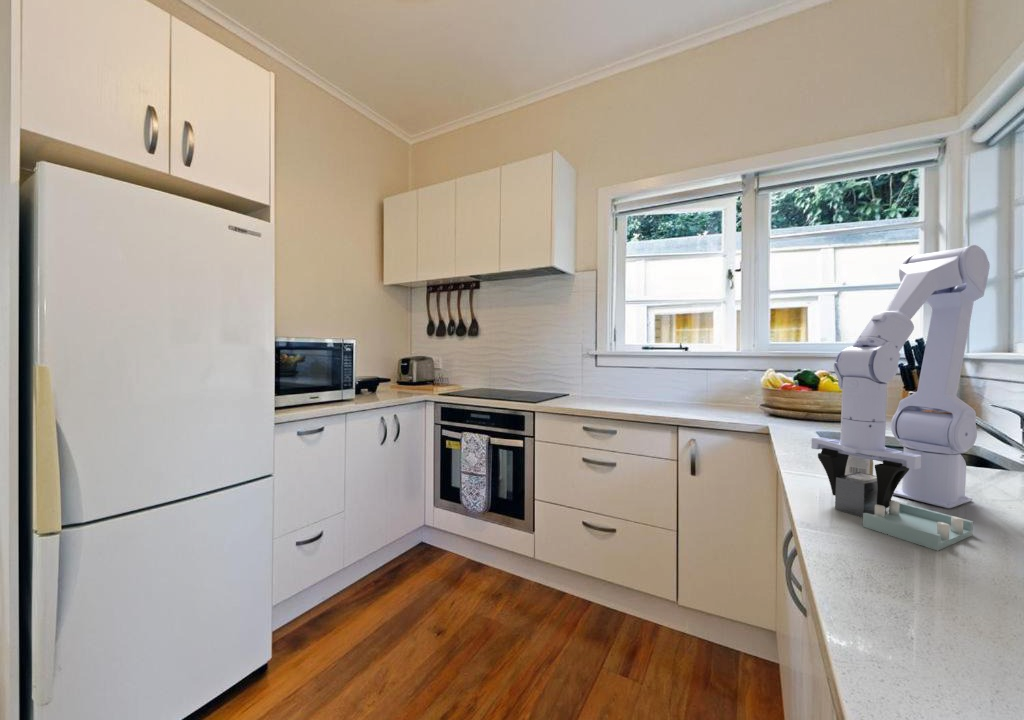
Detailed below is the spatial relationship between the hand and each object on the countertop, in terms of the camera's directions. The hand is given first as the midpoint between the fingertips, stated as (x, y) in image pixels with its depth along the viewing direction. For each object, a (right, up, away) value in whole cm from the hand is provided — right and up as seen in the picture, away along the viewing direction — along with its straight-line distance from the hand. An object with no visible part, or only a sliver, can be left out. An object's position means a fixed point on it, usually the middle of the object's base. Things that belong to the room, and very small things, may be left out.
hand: (859, 500), depth 71 cm
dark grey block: (0, -2, 0) cm, 2 cm away
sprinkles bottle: (+6, -2, +8) cm, 10 cm away
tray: (+2, -2, -8) cm, 8 cm away
